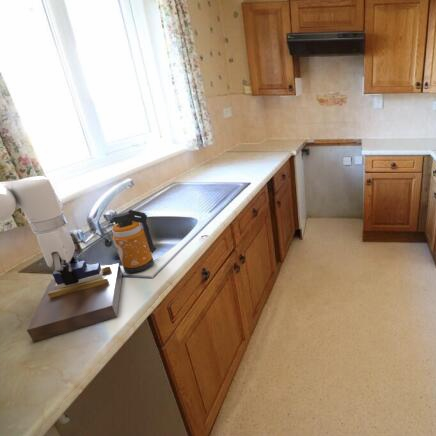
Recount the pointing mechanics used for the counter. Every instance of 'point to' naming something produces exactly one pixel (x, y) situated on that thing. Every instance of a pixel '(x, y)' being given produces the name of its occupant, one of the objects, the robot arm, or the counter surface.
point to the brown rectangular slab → (77, 305)
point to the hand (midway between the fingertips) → (73, 278)
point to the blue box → (80, 273)
